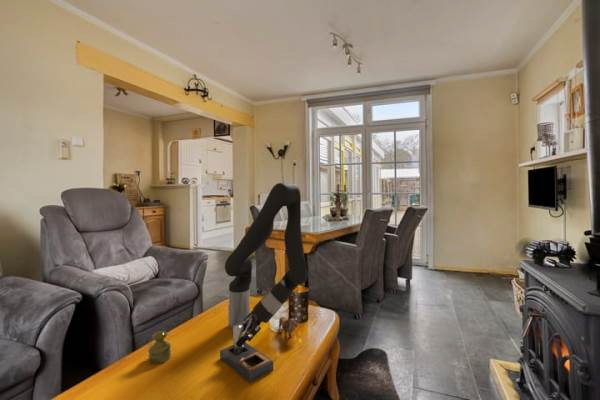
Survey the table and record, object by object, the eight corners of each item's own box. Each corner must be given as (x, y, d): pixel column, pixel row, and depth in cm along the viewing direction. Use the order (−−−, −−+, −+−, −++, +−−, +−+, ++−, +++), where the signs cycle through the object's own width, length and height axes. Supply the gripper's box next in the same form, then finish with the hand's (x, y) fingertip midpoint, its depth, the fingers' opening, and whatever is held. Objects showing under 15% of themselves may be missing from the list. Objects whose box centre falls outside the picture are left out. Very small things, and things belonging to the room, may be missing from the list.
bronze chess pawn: (155, 352, 109) (155, 327, 109) (174, 353, 109) (174, 327, 109) (144, 364, 102) (143, 336, 102) (164, 364, 102) (164, 337, 101)
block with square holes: (220, 358, 106) (220, 349, 106) (242, 348, 113) (242, 339, 113) (249, 382, 92) (249, 372, 92) (273, 369, 99) (273, 360, 99)
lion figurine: (300, 340, 119) (300, 319, 119) (289, 344, 116) (289, 322, 116) (281, 326, 131) (281, 307, 131) (271, 329, 128) (271, 309, 128)
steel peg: (231, 357, 106) (231, 326, 106) (239, 354, 109) (239, 323, 108) (236, 362, 104) (236, 329, 103) (245, 358, 106) (245, 326, 106)
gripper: (259, 293, 114) (230, 324, 112) (262, 307, 100) (229, 343, 98) (272, 305, 116) (244, 336, 113) (277, 321, 102) (245, 356, 100)
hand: (237, 339), depth 106 cm, fingers open, 8 cm apart
